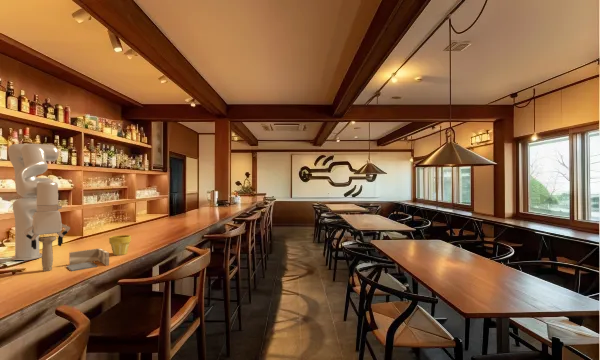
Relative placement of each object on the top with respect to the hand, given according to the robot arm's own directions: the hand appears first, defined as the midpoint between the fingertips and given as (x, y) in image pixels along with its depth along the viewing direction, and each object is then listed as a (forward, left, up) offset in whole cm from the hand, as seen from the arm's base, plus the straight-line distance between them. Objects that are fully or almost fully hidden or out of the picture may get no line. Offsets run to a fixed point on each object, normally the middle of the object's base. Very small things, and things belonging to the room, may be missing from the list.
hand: (47, 247), depth 139 cm
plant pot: (-10, +33, -11) cm, 36 cm away
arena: (+4, +15, -11) cm, 19 cm away
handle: (0, 0, -11) cm, 11 cm away
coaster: (+5, +12, -11) cm, 17 cm away
